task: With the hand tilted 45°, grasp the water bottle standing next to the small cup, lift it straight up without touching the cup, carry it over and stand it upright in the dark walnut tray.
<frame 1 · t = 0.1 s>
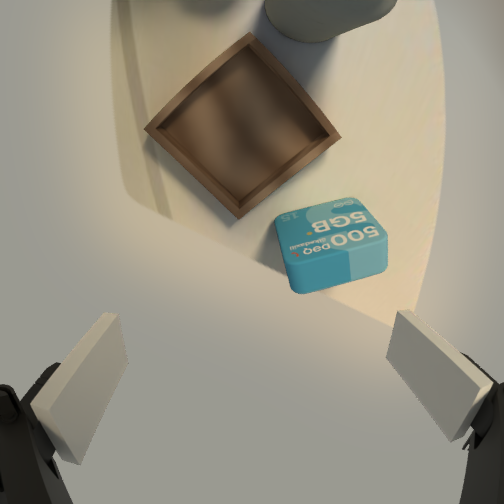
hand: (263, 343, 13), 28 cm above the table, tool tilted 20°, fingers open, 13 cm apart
data package: (317, 218, 41), on the table
water bottle: (304, 8, 25), on the table
walnut tray: (242, 124, 33), on the table
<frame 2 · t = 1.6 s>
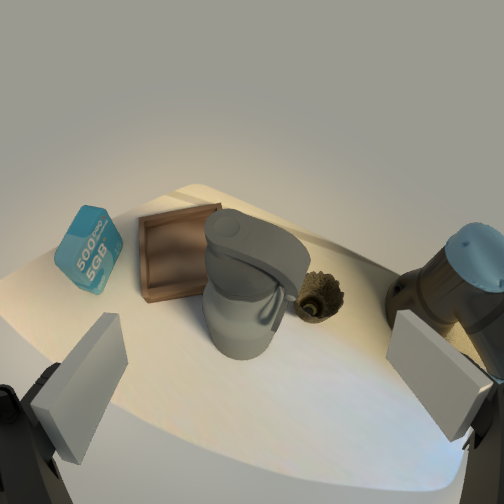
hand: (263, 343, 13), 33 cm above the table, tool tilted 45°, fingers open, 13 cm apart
cup: (308, 311, 49), on the table
data package: (103, 267, 51), on the table
water bottle: (243, 332, 46), on the table
walnut tray: (186, 255, 53), on the table
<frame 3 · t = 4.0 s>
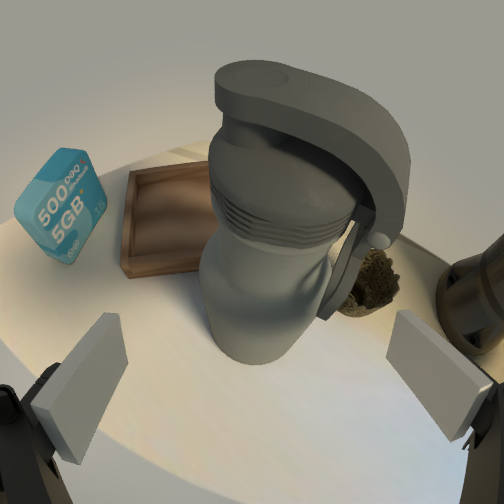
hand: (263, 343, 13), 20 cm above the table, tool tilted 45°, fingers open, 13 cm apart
cup: (344, 302, 35), on the table
data package: (80, 231, 39), on the table
water bottle: (255, 326, 33), on the table
walnut tray: (185, 220, 40), on the table
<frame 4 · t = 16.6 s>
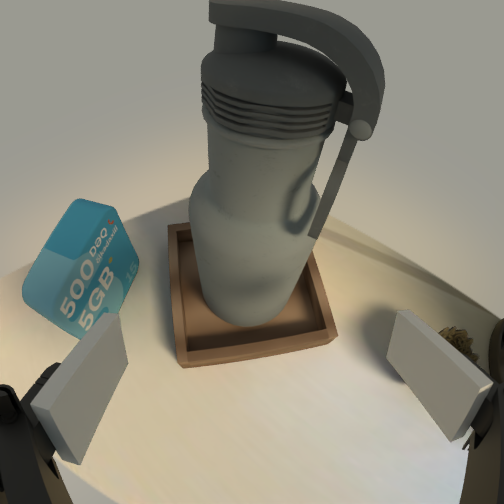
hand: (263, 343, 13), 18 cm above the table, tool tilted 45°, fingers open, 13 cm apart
cup: (415, 375, 29), on the table
data package: (107, 300, 32), on the table
water bottle: (247, 288, 33), point 1 cm above the table, touching walnut tray
walnut tray: (244, 290, 34), on the table
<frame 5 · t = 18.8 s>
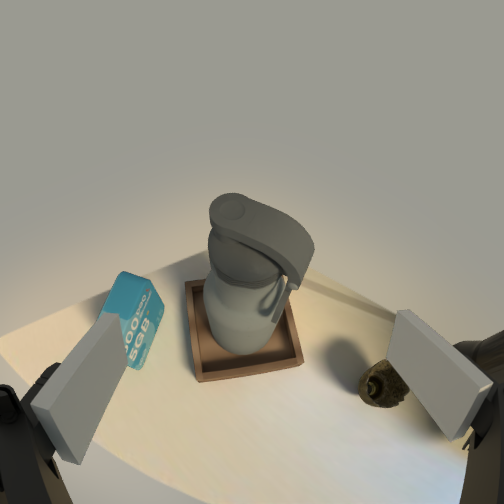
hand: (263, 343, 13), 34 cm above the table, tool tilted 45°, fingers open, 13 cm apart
cup: (366, 389, 42), on the table
data package: (142, 335, 45), on the table
water bottle: (243, 327, 46), point 1 cm above the table, touching walnut tray
walnut tray: (241, 328, 47), on the table
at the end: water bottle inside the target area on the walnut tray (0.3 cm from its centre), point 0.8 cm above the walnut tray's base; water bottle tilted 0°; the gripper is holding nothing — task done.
